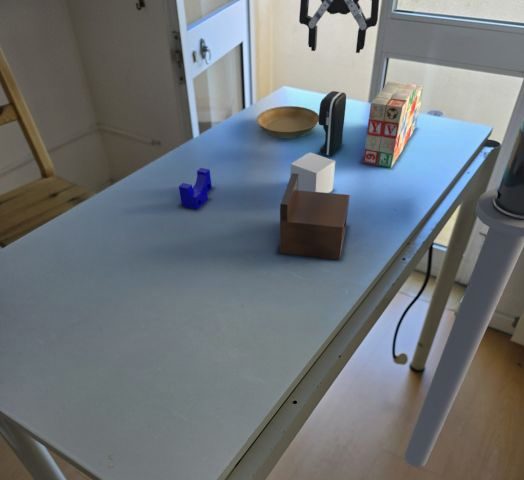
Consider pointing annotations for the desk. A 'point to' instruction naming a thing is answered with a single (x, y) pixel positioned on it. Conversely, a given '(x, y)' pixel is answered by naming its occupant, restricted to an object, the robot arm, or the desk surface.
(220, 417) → the desk surface
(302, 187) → the white cube
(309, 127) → the plant saucer
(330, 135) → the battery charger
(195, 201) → the cable holder
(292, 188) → the brown boxy piece
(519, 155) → the robot arm
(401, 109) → the stack of blocks
